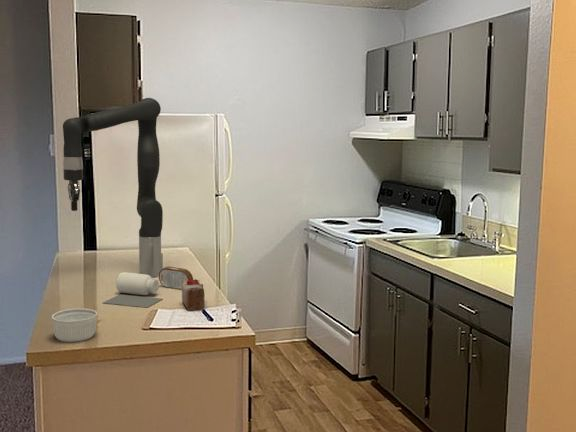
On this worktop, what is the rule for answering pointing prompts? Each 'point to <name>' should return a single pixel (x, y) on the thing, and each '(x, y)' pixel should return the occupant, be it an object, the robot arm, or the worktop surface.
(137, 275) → the pill bottle
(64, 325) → the ramekin
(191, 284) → the food item
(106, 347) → the worktop surface
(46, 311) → the worktop surface
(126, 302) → the mat
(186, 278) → the tin
